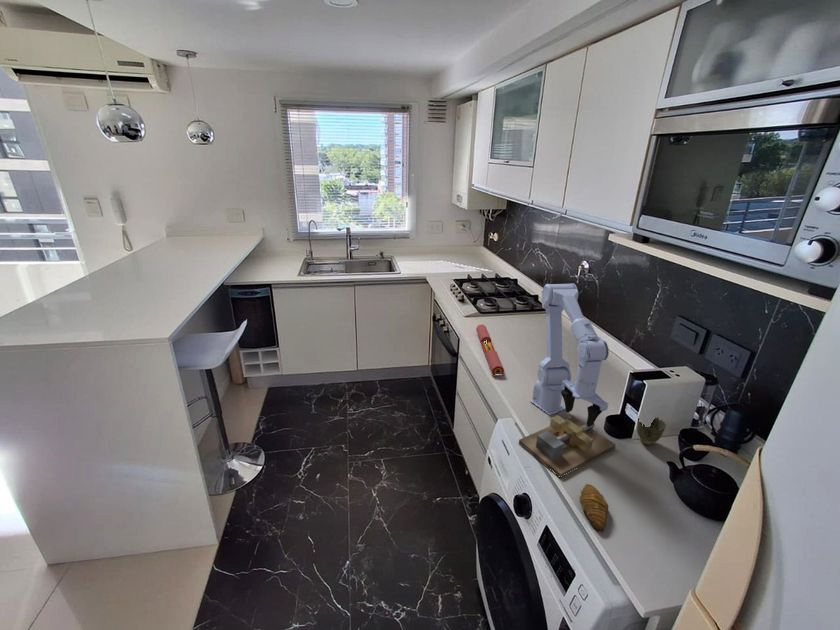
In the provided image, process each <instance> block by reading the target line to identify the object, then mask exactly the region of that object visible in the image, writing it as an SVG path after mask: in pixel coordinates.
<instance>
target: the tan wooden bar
mask: <svg viewBox="0 0 840 630" xmlns="http://www.w3.org/2000/svg"><path fill="white" fill-rule="evenodd" d="M566 419H567V418H566ZM549 426H551V427H552V428H553V429H555V430H556V431H557V432H559V436H562V435H564V434H566V433H568V434H570V435H571V437H570V442H569V445H571V446H572V447H575V446H578V447H580V448H581V449H582V450H584V451H586V450H588V449H590V448H592V443H593V439H592V438H591V437H589V436H588V435H586V434H585V433H583V429H582V428H580V427H579V426H577V425H576V424H574V423H573V422H571V421H570V420H568V419H567V420H565V419H564V418H563V417H562V416H560V415H559V414H558V415H555V416H553V417H550V423H549Z"/></svg>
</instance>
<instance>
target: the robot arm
mask: <svg viewBox="0 0 840 630" xmlns="http://www.w3.org/2000/svg"><path fill="white" fill-rule="evenodd" d="M578 298H579V290H578V287H577V285H576V284H575V283H572V282H571V283H551V284H550V283H546V284H545V285H544V286H543V288H542V290H541V307H542V309H544V310H545V314H546V315H545V320H546V321H545V329H546V331H545V332H546V333H545V334H546V358H544V359H542V361H540V362H538V370H537V380H536V381H535V383H534V385H533V390H532V398H531V400H530V401H531V402H532V403H531V402H530V401H529V402H530V403H531V404H533V402H534V404H535V405H534V404H533V405H534V406H536V407H537V406H538V407H539V409H540V410H541V409H542V412H544V411H545V412H544V413H545V414H547V415H548V416H552V415H555V414H557V413H560V412H561V411H565V412H566V413H570V412H572V411H573V409H574V405H575V400H583V401H586V402H588V403H591V404H592V405H589V406H587V420H586V424H587V426H588V427H589V426H592V425H593V424H595V422H596V420H597V419H598V417H599V415H601V413H603V412H604V411H607V410H608V408H609V402H606V401H605V400H604V399H603V398H602V397H601V396H600V395H598V394H597V386H598V382H599V378H600V373H601V367H602V363H603V361H606V360H607V359H608V357H609V354H610V349H609V345H608V343H607V342H606V340H604V339H602V338H601V336H598V334H597V333H596V331H595V329H594V327H593V325H592V323H591V321H590V320H589V319H587V318H585V317H584V314H583V313H582V309H581V307H580V304H579V302H578V300H579V299H578ZM563 311H564V312H565V314H566V316H567V317H568V319H569V320H570V322H571V325H570V330H571V333H572V334H573V337H574V339H575V341H576V344H577V351H576V353H577V364H578V367H577V373H576V378H575V382H574V381H573V382H572V372H571V368H570V363H569V361H566V360H565V359H564V358H563V327H562V325H563V324H562V321H563V319H562V317H563V316H562V312H563ZM562 399H563V401H564V405H562ZM538 407H537V408H538Z"/></svg>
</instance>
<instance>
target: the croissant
mask: <svg viewBox="0 0 840 630" xmlns="http://www.w3.org/2000/svg"><path fill="white" fill-rule="evenodd" d="M580 493H581V494H580V496H579V503H580V505H581V507H582V509H583V511H584V513H585V514H586V517H587V519H588V521H589V522H590V524H591V525H592V527H593V526H594V527H593V528H594V530H595V531H596V530H597V532H599V531H602V532H603V531H604V530H605V527H606V525H607V521H608V513H609V504H608V503H607V501H606V499H605V497H604V495H603V494H602V493H600V491H599V490H598V489H597V488H596V487H595V486H593V484H591V483H585V485H584V487H583V489H582V490H581V492H580Z"/></svg>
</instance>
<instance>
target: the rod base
mask: <svg viewBox="0 0 840 630" xmlns="http://www.w3.org/2000/svg"><path fill="white" fill-rule="evenodd" d="M567 419H568V420H570V421H571V422H573V423H574V424H576V425H577V426H579V427H580V428H582V429H583V433H585V434H586V435H588V436H589V437H591V438H592V439H593V443H592V448H590V449H588V450H586V451H584V450H582V449H581V448H580V447H578V446H575V447H572V446H571V445H569V442H570V437H571V435H570V434H568V433H566V434H564V435H562V436H559V432H557V431H556V430H555V429H553V428H552V427H551V426H550V425H549V426H547V427H545V428H543V429H540V430H537V431H535V432H534V433H531V434H529V435H527V436H524V437H521V438H520V439H518V445H520V446H521V447H522V448H523V449H524V450H525V451H527V452H528V453H529V454H530V455H532V456H533V457H534V458H535V459H536V460H538V461H539V462H540V463H541V464H542V465H543V466H545V468H547V469H548V468H549V469H548V470H550V469H551V470H553V471H554V472H555V473H556V474H557V475H558V476H560V477H561V476H563V475H564V474H566V473H568V472H570V471H572V470H574V469H576V468H578V469H580V468H582V467H583V465H584V466H585V465H587V464H589V463H590V462H592V461H594V460H596V459H598V458H601V457H602V456H604V455H605V454H607V453H609V452H611V451H613V450H615V449H616V445H617V444H616V443H614V442H613V441H611V440H610V439H608V438H607V437H605V436H604V435H602V434H601V433H599V432H597V431H596V430H595V429H594V427H595V425H596V424H595V423H594V424H593V425H592V426H589V427H588V426H587V423H584V422H583V421H581V420H580V419H578V418H577V417H575V416H574V415H572V416H569V417H567V418H565V419H564V420H567ZM581 466H582V467H581ZM579 467H580V468H579ZM551 470H550V471H551ZM576 470H577V469H576ZM574 471H575V470H574ZM572 472H573V471H572ZM557 475H556V476H557ZM558 476H557V477H558ZM563 477H564V476H563ZM561 478H562V477H561Z"/></svg>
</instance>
